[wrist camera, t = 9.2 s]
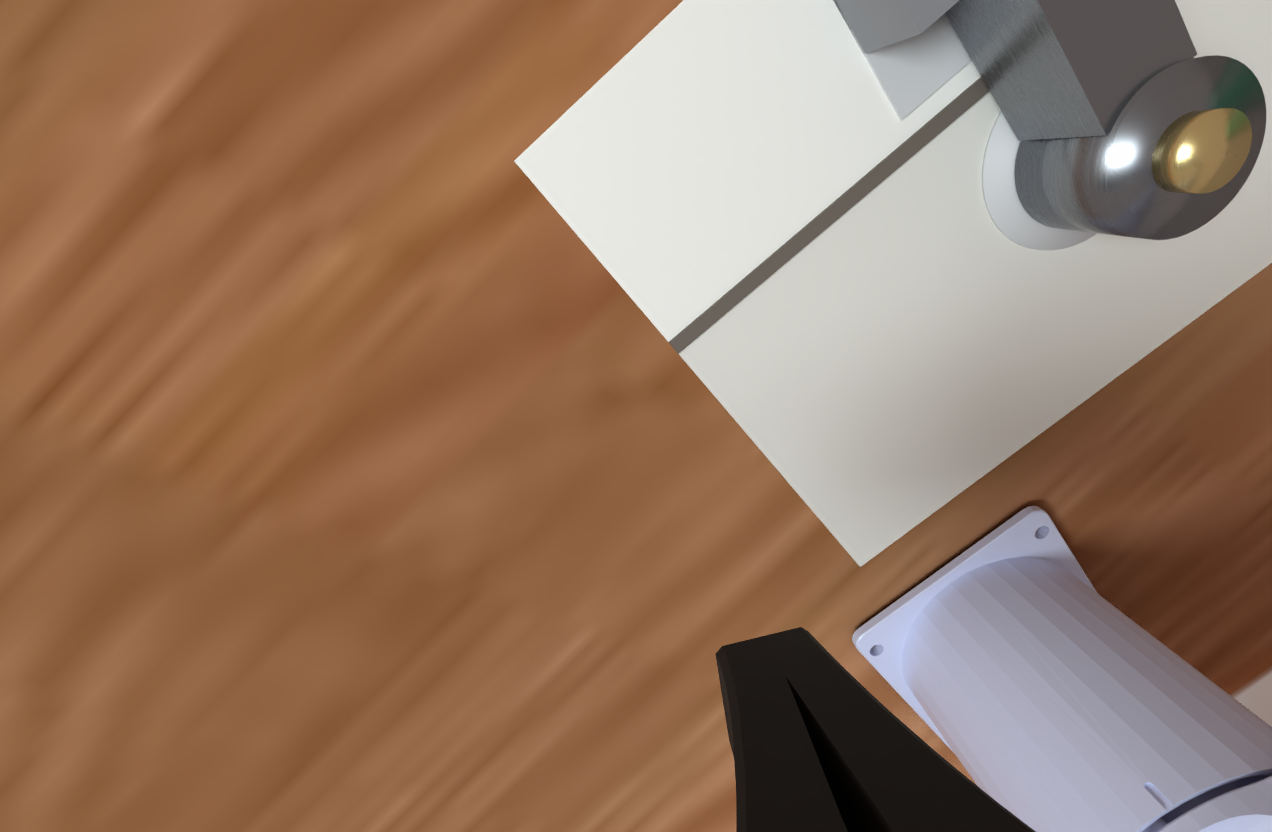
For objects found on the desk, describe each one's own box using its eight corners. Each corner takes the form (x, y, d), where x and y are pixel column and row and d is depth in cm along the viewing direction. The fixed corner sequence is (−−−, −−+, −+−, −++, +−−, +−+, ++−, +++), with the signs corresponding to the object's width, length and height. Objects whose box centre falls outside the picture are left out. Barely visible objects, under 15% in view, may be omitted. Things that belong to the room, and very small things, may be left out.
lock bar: (1168, 157, 16) (1319, 155, 13) (1053, 257, 17) (1171, 278, 13) (963, -274, 12) (1110, -428, 9) (823, -123, 13) (914, -219, 10)
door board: (1521, 45, 18) (1731, 18, 15) (846, 549, 21) (899, 616, 18) (1435, -709, 12) (1756, -1026, 9) (515, 161, 15) (508, 159, 12)
